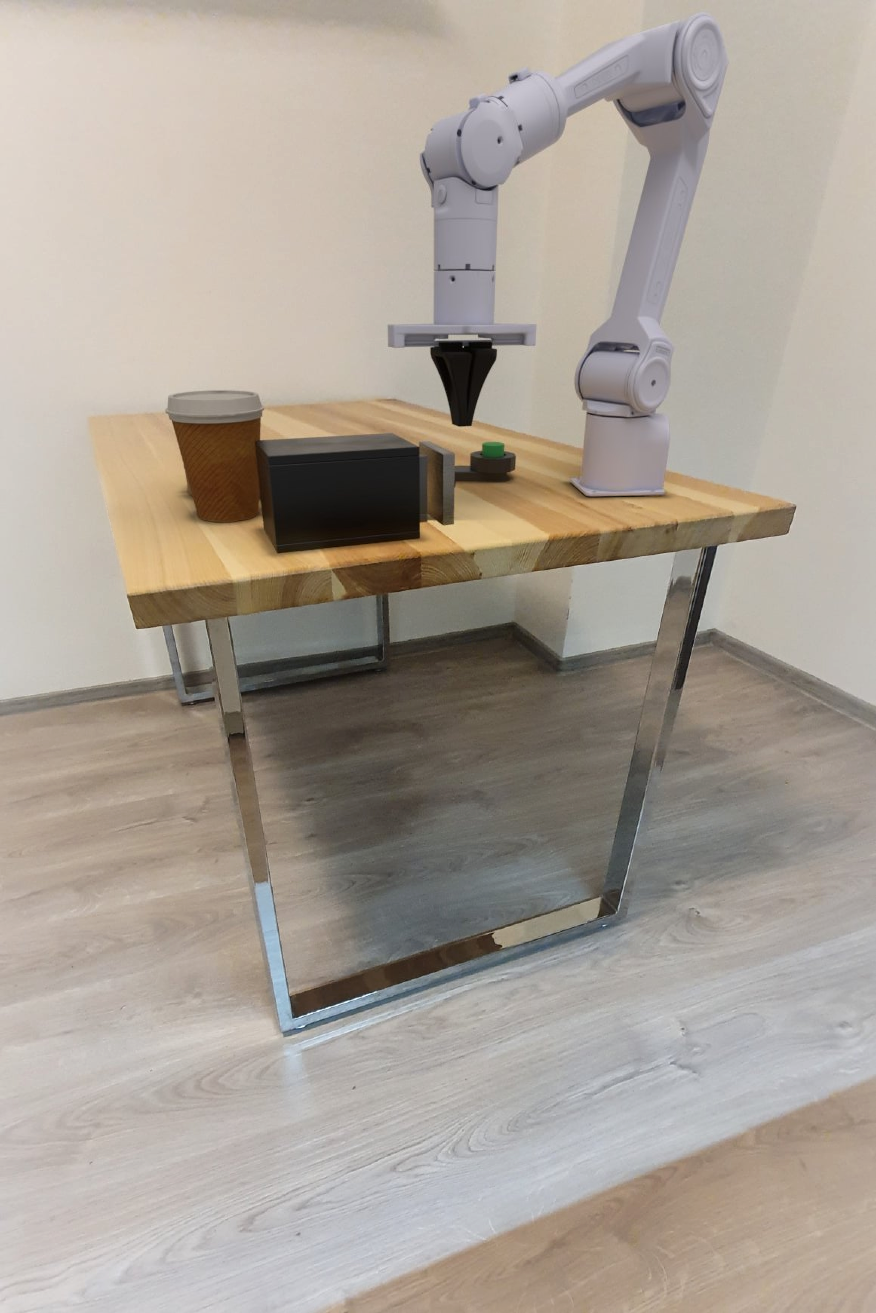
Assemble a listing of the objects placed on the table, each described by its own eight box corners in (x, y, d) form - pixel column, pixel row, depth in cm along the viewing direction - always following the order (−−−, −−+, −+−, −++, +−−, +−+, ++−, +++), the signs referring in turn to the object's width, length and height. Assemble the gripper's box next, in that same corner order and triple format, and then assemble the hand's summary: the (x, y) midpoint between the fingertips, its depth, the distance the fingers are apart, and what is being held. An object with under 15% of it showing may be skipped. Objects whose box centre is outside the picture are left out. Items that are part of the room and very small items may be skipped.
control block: (511, 473, 96) (513, 450, 95) (516, 483, 91) (517, 458, 90) (435, 473, 96) (435, 450, 95) (435, 483, 91) (435, 458, 90)
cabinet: (394, 517, 76) (392, 432, 72) (420, 539, 69) (419, 446, 66) (263, 529, 72) (254, 440, 68) (277, 553, 65) (267, 456, 61)
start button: (502, 455, 94) (503, 441, 93) (504, 460, 91) (505, 445, 90) (481, 455, 94) (481, 441, 93) (482, 460, 91) (482, 445, 90)
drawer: (440, 506, 77) (440, 440, 74) (465, 523, 71) (467, 452, 68) (312, 518, 73) (307, 448, 70) (327, 537, 67) (322, 462, 64)
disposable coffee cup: (191, 531, 71) (172, 402, 66) (174, 509, 79) (156, 392, 74) (285, 519, 75) (274, 397, 70) (261, 499, 83) (249, 388, 78)
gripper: (403, 268, 61) (405, 435, 67) (555, 271, 66) (545, 427, 72) (379, 271, 67) (383, 424, 73) (520, 274, 72) (513, 417, 78)
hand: (461, 425), depth 73 cm, fingers closed
